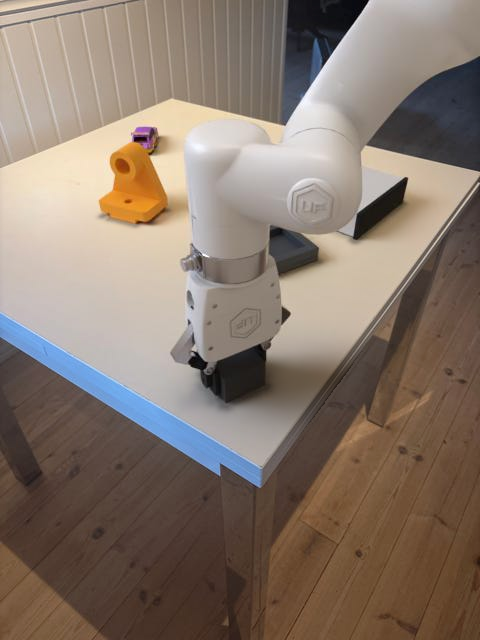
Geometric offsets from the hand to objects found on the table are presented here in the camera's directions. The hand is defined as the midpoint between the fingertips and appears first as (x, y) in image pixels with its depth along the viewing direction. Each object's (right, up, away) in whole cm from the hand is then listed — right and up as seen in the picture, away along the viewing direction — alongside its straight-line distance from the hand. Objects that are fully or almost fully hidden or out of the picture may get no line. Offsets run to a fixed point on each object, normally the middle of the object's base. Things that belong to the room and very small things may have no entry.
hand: (234, 376), depth 60 cm
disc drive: (+18, +30, +35) cm, 49 cm away
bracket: (-19, +27, +33) cm, 47 cm away
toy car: (-22, +49, +57) cm, 78 cm away
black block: (0, 0, 0) cm, 0 cm away
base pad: (+7, +18, +21) cm, 28 cm away
